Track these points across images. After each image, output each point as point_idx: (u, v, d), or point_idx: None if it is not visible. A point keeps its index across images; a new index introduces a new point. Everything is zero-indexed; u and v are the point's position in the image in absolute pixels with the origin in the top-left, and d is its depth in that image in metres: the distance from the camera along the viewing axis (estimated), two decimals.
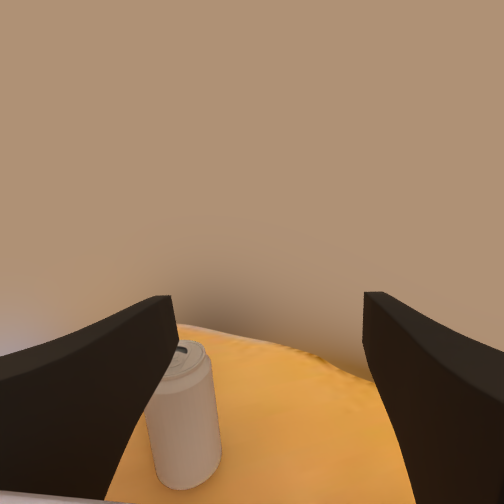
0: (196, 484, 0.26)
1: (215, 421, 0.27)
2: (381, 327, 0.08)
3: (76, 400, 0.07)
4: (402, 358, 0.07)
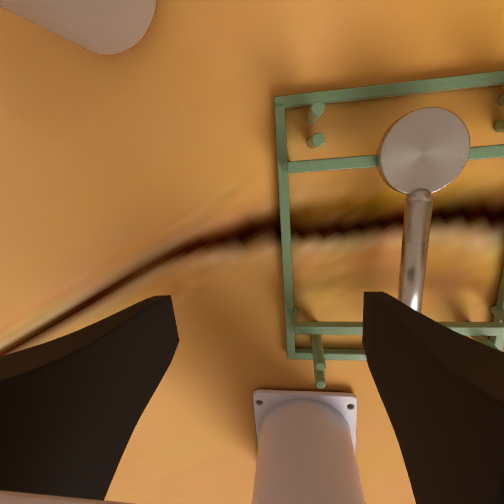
0: (137, 39, 0.16)
1: None
2: (381, 327, 0.08)
3: (76, 400, 0.07)
4: (402, 358, 0.07)
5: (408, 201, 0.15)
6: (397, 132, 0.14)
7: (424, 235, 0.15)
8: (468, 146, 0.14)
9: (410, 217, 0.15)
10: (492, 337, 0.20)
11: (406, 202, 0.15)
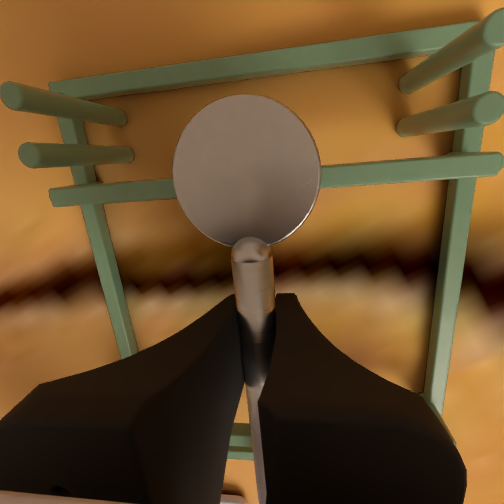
0: None
1: None
2: None
3: (203, 405, 0.06)
4: None
5: (231, 259, 0.08)
6: (191, 140, 0.08)
7: (259, 317, 0.08)
8: (316, 165, 0.07)
9: (236, 286, 0.08)
10: None
11: None
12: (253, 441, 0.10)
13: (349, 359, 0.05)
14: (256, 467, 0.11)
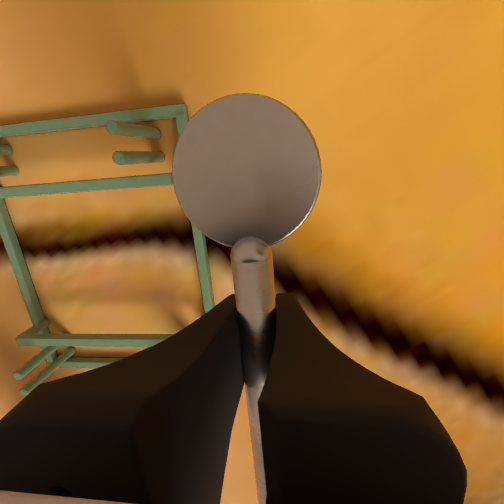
0: None
1: None
2: None
3: (203, 405, 0.06)
4: None
5: (231, 259, 0.08)
6: (191, 139, 0.08)
7: (259, 318, 0.08)
8: (317, 165, 0.07)
9: (236, 286, 0.08)
10: None
11: None
12: (253, 441, 0.10)
13: (349, 359, 0.05)
14: (256, 467, 0.11)
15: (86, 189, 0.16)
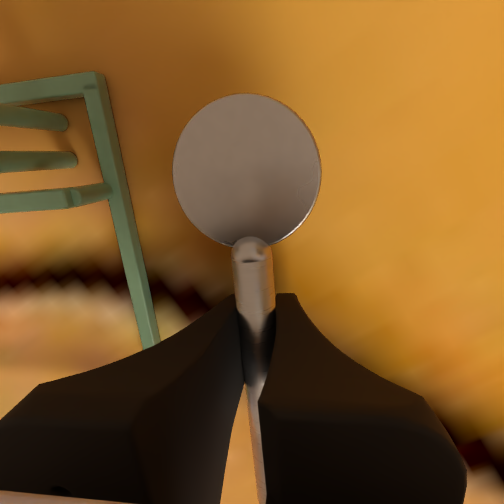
0: None
1: None
2: None
3: (203, 406, 0.06)
4: None
5: (231, 259, 0.08)
6: (191, 139, 0.08)
7: (259, 317, 0.08)
8: (317, 165, 0.07)
9: (236, 286, 0.08)
10: None
11: None
12: (253, 441, 0.10)
13: (349, 359, 0.05)
14: (256, 467, 0.11)
15: None
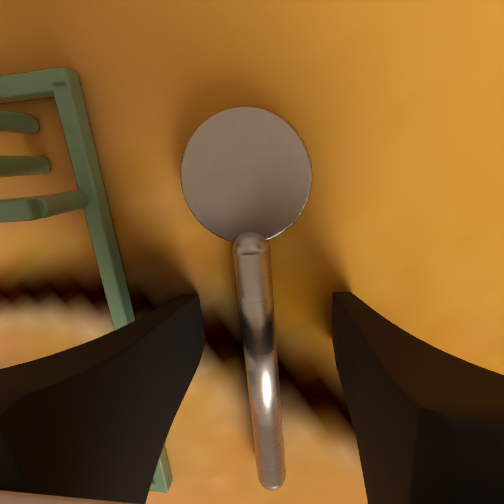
0: None
1: None
2: (343, 327, 0.09)
3: (121, 401, 0.06)
4: (357, 357, 0.07)
5: (233, 252, 0.09)
6: (198, 146, 0.09)
7: (259, 305, 0.09)
8: (308, 169, 0.08)
9: (237, 276, 0.09)
10: None
11: None
12: (253, 420, 0.11)
13: (463, 361, 0.05)
14: (256, 445, 0.12)
15: None
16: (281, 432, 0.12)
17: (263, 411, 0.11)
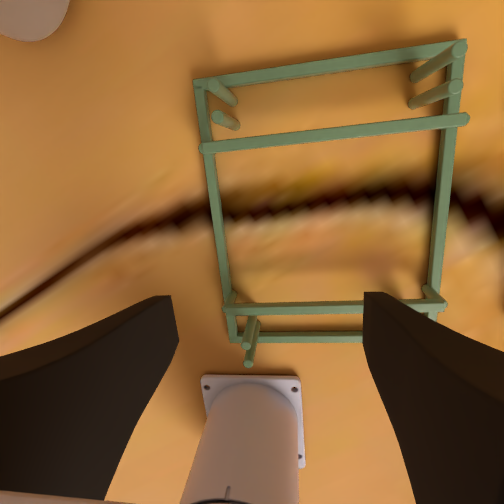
0: (56, 25, 0.16)
1: None
2: (381, 327, 0.08)
3: (75, 400, 0.07)
4: (402, 358, 0.07)
5: None
6: None
7: None
8: None
9: None
10: None
11: None
12: None
13: None
14: None
15: (359, 134, 0.15)
16: None
17: None
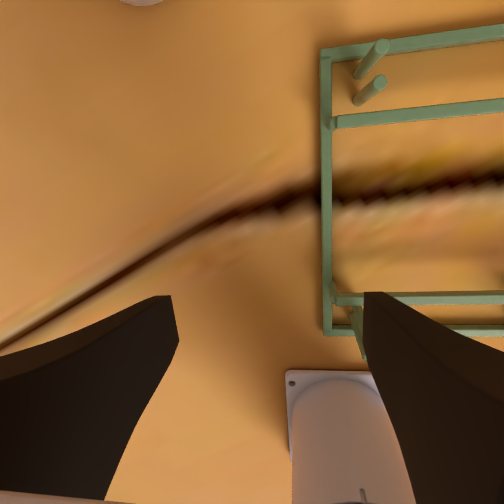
0: None
1: None
2: (381, 327, 0.08)
3: (76, 400, 0.07)
4: (402, 358, 0.07)
5: None
6: None
7: None
8: None
9: None
10: None
11: None
12: None
13: None
14: None
15: None
16: None
17: None
